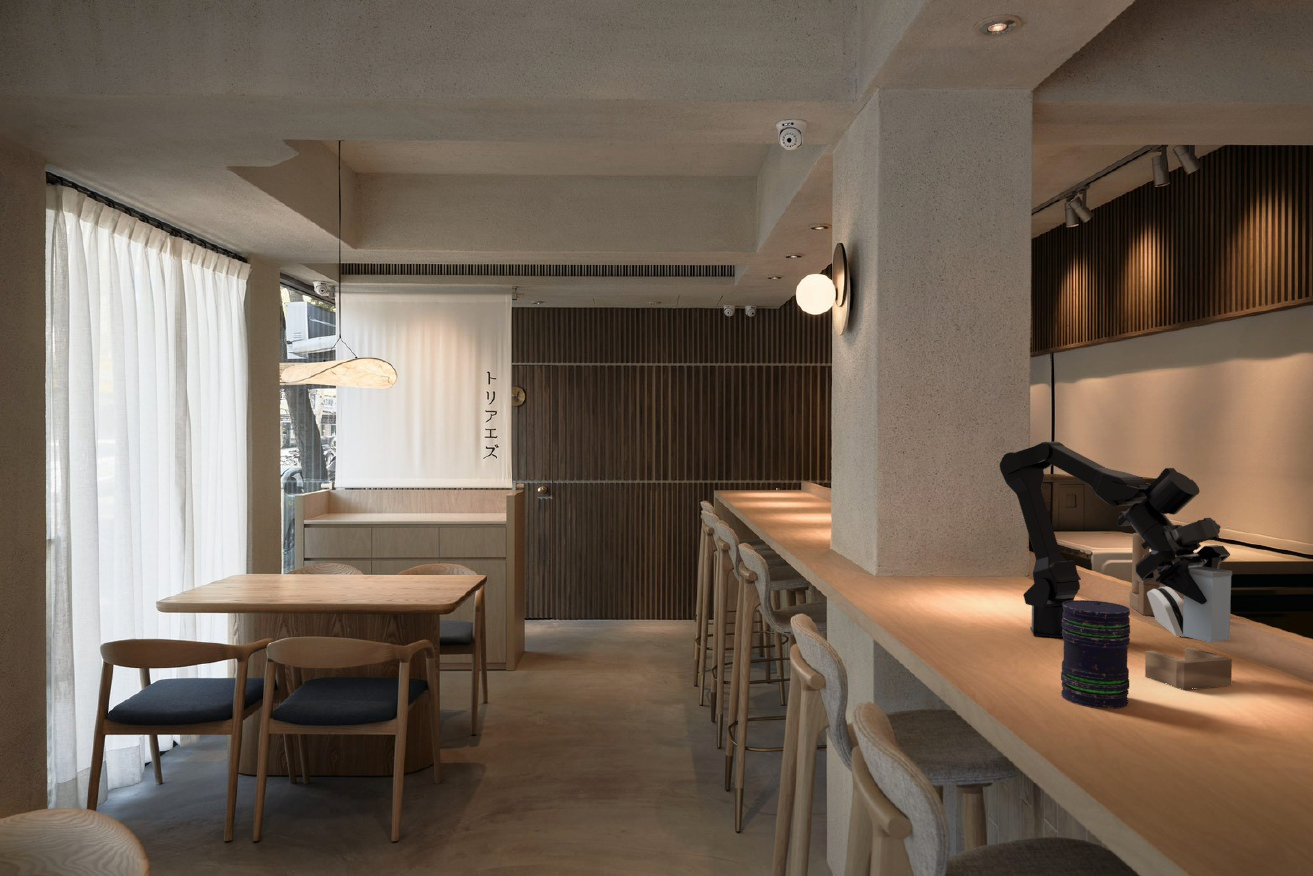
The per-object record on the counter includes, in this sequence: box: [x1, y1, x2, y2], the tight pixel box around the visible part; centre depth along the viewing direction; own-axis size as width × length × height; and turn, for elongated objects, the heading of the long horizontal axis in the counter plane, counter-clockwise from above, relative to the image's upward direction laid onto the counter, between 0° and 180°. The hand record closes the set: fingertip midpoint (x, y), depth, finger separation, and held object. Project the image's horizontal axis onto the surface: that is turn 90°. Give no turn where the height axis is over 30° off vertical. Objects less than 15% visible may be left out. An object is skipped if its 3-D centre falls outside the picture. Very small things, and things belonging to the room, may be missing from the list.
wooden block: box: [1129, 532, 1161, 617], centre depth 208 cm, size 4×11×18 cm, turn 167°
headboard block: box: [1144, 647, 1233, 691], centre depth 152 cm, size 8×10×4 cm
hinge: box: [1147, 586, 1185, 638], centre depth 191 cm, size 17×5×10 cm, turn 164°
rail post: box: [1183, 566, 1233, 643], centre depth 155 cm, size 5×5×12 cm
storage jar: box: [1060, 599, 1131, 710], centre depth 142 cm, size 10×10×15 cm
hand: (1214, 601), depth 153 cm, fingers closed on rail post, 5 cm apart
